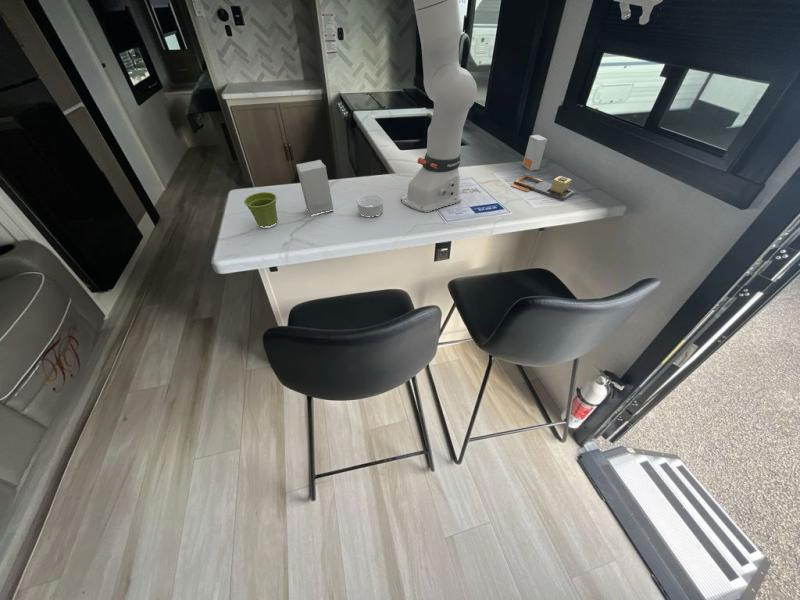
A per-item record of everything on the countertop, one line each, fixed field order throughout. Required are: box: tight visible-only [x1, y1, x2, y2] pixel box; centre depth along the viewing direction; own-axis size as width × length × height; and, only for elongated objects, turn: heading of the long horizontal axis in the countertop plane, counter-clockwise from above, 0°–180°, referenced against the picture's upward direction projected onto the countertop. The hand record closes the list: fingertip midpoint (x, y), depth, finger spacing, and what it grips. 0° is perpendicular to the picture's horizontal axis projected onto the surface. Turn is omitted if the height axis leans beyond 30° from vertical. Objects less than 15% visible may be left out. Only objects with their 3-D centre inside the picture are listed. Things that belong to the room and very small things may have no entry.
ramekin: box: [356, 194, 384, 217], centre depth 108 cm, size 9×9×4 cm
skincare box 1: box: [295, 159, 334, 216], centre depth 105 cm, size 8×7×16 cm
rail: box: [510, 174, 575, 202], centre depth 120 cm, size 11×20×1 cm, turn 43°
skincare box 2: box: [522, 134, 548, 171], centre depth 132 cm, size 6×4×12 cm
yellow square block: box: [549, 175, 573, 197], centre depth 116 cm, size 4×4×6 cm
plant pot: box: [243, 191, 279, 227], centre depth 101 cm, size 9×9×9 cm
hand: (634, 21), depth 94 cm, fingers open, 8 cm apart
